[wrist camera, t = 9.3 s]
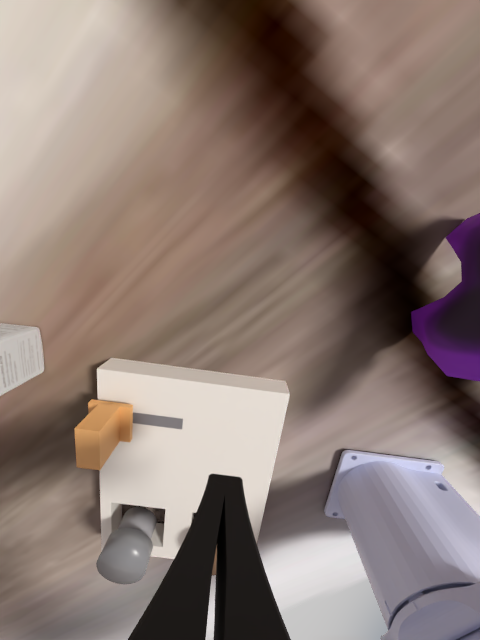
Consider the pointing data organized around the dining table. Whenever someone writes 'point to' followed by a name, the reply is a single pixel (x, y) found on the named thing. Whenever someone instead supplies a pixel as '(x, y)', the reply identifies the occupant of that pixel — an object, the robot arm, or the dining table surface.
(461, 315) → the flower
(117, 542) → the grey push button
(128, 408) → the slider handle
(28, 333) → the skincare box
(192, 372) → the panel
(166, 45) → the dining table surface
